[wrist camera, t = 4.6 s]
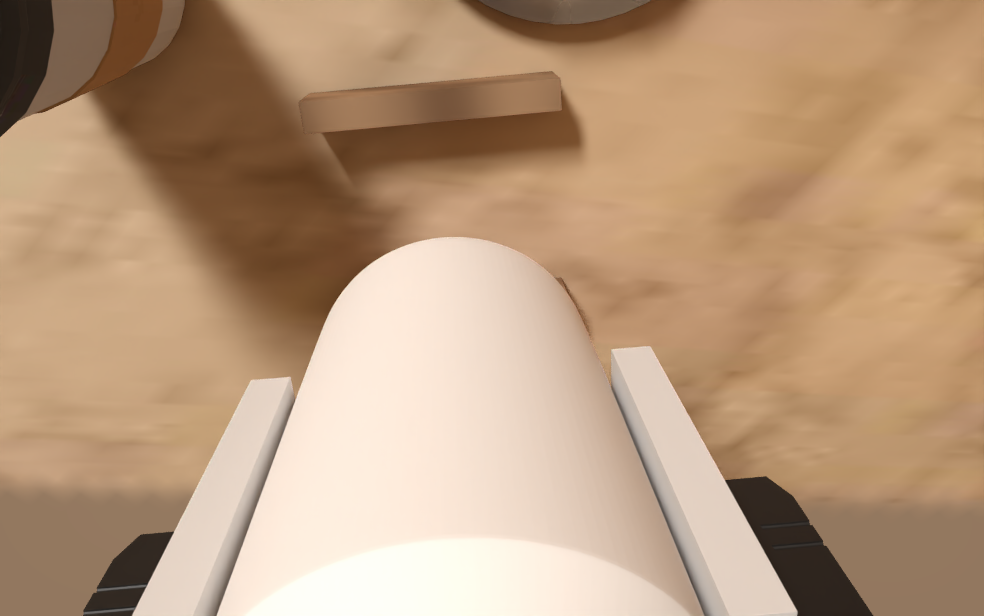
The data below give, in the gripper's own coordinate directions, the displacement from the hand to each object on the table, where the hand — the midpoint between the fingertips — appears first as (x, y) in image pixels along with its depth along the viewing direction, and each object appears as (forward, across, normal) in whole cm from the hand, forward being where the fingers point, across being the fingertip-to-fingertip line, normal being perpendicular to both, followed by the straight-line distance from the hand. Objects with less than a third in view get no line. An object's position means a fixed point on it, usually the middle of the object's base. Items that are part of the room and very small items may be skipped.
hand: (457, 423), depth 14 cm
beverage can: (+4, 0, 0) cm, 4 cm away
